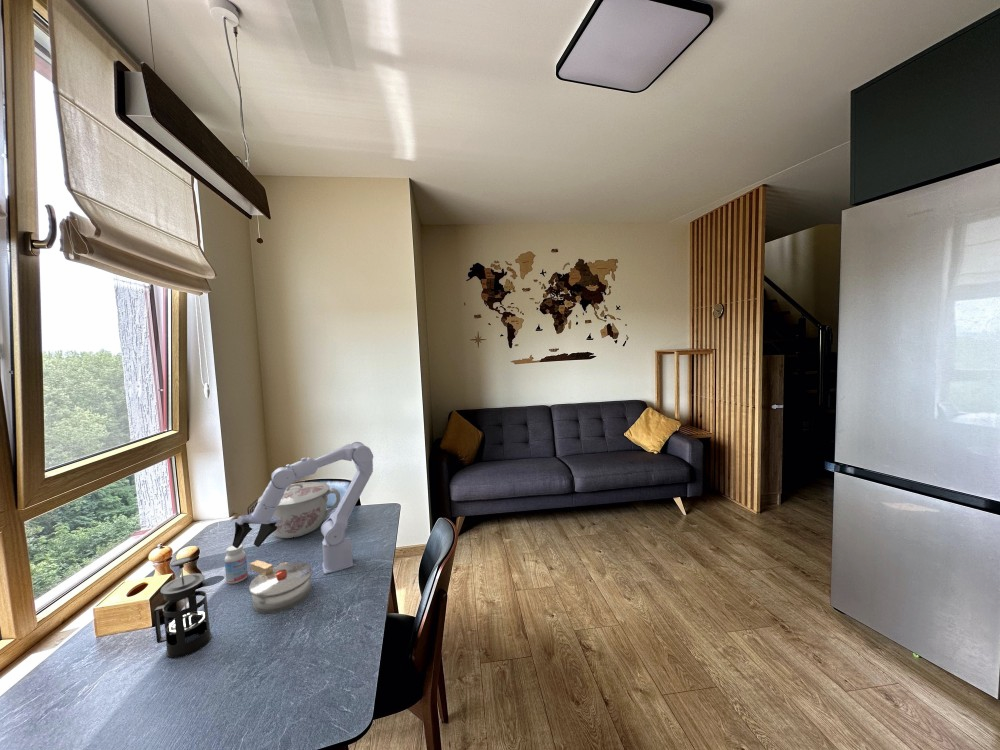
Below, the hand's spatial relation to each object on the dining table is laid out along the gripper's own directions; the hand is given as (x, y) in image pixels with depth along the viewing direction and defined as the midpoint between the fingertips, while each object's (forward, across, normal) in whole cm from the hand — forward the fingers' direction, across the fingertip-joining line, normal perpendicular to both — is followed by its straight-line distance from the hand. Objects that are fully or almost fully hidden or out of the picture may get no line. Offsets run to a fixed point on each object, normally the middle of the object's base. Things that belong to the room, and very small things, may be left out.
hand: (245, 546), depth 123 cm
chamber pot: (+4, -43, -20) cm, 48 cm away
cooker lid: (+5, -6, +11) cm, 14 cm away
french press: (+21, +13, +11) cm, 27 cm away
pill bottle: (+15, -11, -8) cm, 21 cm away
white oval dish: (+9, -10, +13) cm, 19 cm away
